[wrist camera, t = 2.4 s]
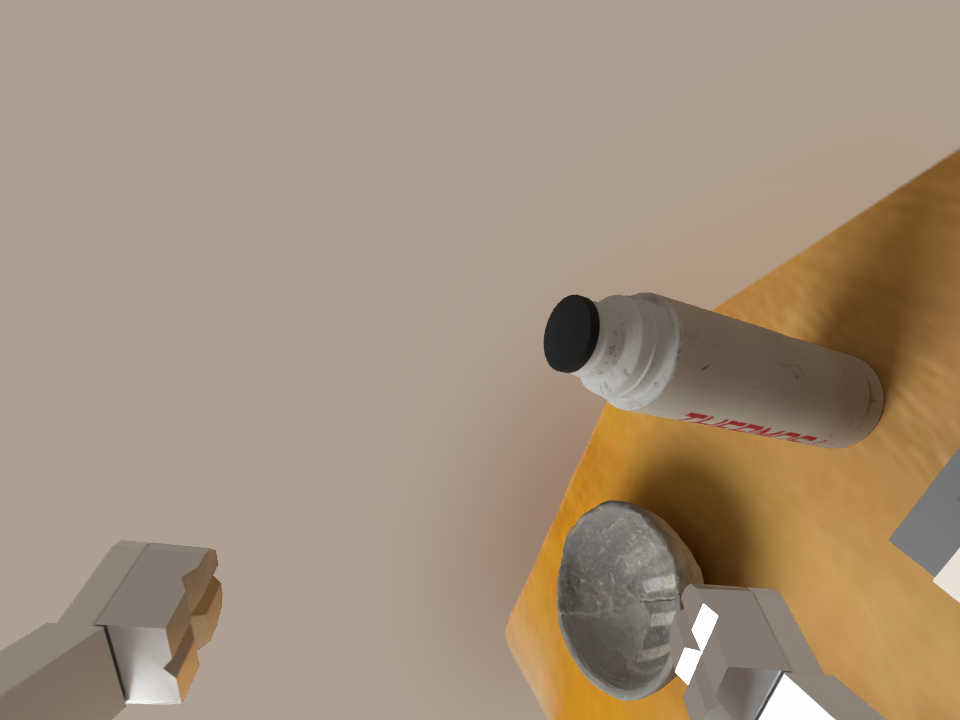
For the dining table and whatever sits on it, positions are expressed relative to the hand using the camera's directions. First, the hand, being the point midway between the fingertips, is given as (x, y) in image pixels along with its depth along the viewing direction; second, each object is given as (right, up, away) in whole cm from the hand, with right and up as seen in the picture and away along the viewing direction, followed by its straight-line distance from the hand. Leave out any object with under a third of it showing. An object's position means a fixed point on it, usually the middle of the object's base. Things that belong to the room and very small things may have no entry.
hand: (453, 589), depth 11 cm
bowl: (+20, -20, +52) cm, 59 cm away
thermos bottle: (+30, +1, +40) cm, 50 cm away
